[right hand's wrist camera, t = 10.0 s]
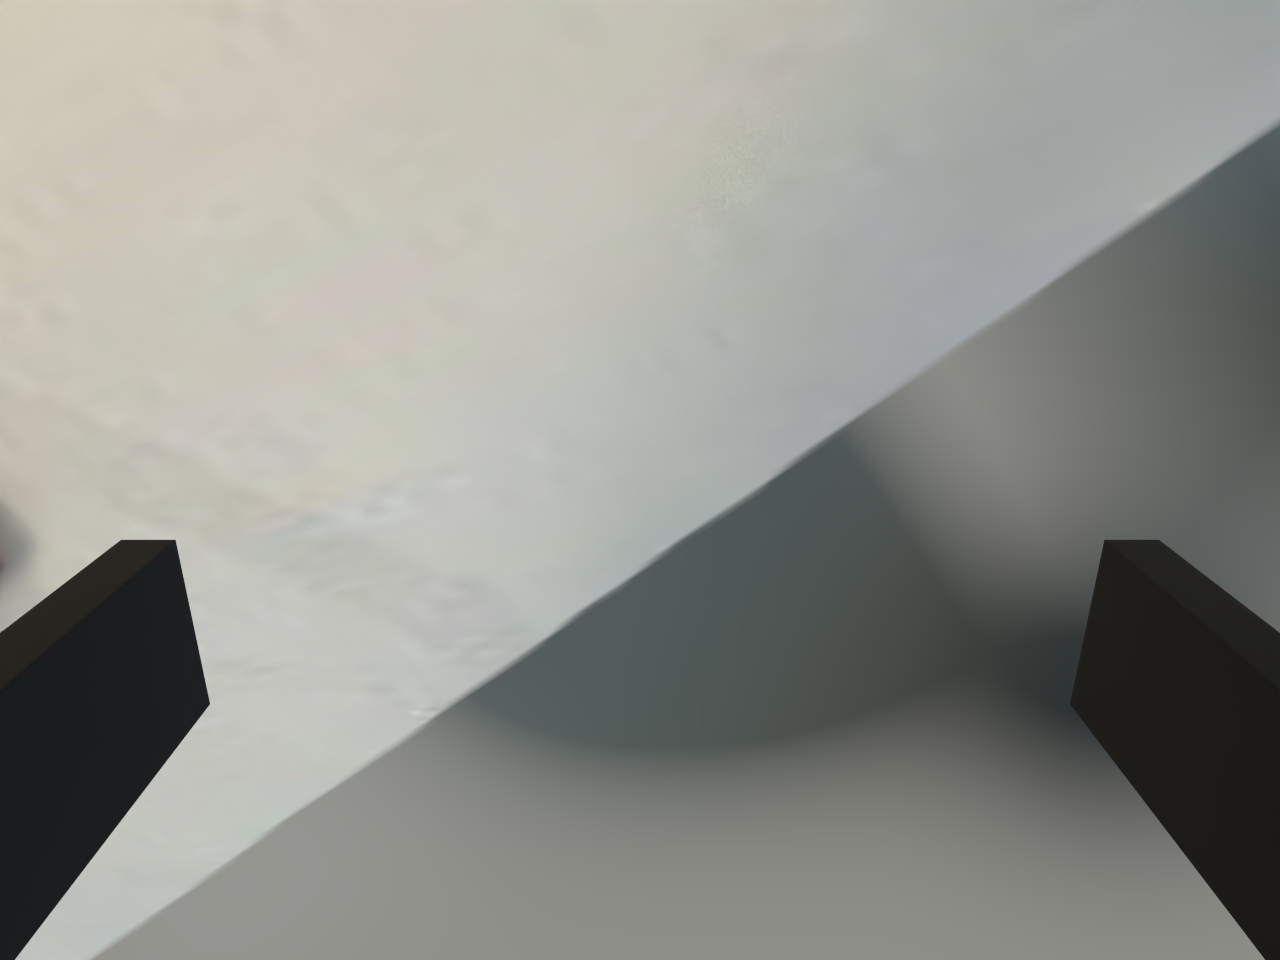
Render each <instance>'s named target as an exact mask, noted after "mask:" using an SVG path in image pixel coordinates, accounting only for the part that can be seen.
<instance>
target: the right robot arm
mask: <svg viewBox="0 0 1280 960" xmlns="http://www.w3.org/2000/svg"><path fill="white" fill-rule="evenodd" d="M1070 704H1071V706H1072V707H1073V708H1074V710H1075V711H1076V712H1077V714H1078V715H1079V716H1080V718H1081V719H1082V720H1083V722H1084V723H1085V724H1086V725H1087V727H1088V728H1089V729H1090V731H1091V732H1092V733H1093V735H1094V736H1095V737H1096V739H1097V740H1098V741H1099V743H1100V744H1101V745H1102V746H1103V748H1104V749H1105V750H1106V752H1107V753H1108V754H1109V756H1110V757H1111V758H1112V760H1113V761H1114V762H1115V763H1116V765H1117V766H1118V767H1119V769H1120V770H1121V771H1122V773H1123V774H1124V775H1125V777H1126V778H1127V779H1128V781H1129V782H1130V783H1131V784H1132V786H1133V787H1134V788H1135V790H1136V791H1137V792H1138V794H1139V795H1140V796H1141V798H1142V799H1143V800H1144V801H1145V803H1146V804H1147V805H1148V807H1149V808H1150V809H1151V811H1152V812H1153V813H1154V814H1155V816H1156V817H1157V818H1158V820H1159V821H1160V822H1161V824H1162V825H1163V826H1164V828H1165V829H1166V830H1167V832H1168V833H1169V834H1170V836H1171V837H1172V838H1173V839H1174V841H1175V842H1176V843H1177V845H1178V846H1179V847H1180V849H1181V850H1182V851H1183V852H1184V854H1185V855H1186V856H1187V858H1188V859H1189V860H1190V862H1191V863H1192V864H1193V866H1194V867H1195V868H1196V870H1197V871H1198V872H1199V873H1200V875H1201V876H1202V877H1203V879H1204V880H1205V881H1206V883H1207V884H1208V885H1209V887H1210V888H1211V889H1212V890H1213V892H1214V893H1215V894H1216V896H1217V897H1218V898H1219V900H1220V901H1221V902H1222V904H1223V905H1224V906H1225V908H1226V909H1227V910H1228V911H1229V913H1230V914H1231V915H1232V917H1233V918H1234V919H1235V921H1236V922H1237V923H1238V925H1239V926H1240V927H1241V928H1242V930H1243V931H1244V932H1245V934H1246V935H1247V936H1248V938H1249V939H1250V940H1251V942H1252V943H1253V944H1254V945H1255V947H1256V948H1257V949H1258V951H1259V952H1260V953H1261V955H1262V956H1263V957H1264V959H1265V960H1280V633H1279V632H1278V631H1276V630H1275V629H1274V628H1273V627H1271V626H1270V625H1269V624H1267V623H1266V622H1265V621H1263V620H1262V619H1261V618H1260V617H1258V616H1257V615H1256V614H1254V613H1253V612H1252V611H1250V610H1249V609H1248V608H1247V607H1245V606H1244V605H1243V604H1241V603H1240V602H1239V601H1237V600H1236V599H1235V598H1234V597H1232V596H1231V595H1230V594H1228V593H1227V592H1226V591H1224V590H1223V589H1222V588H1221V587H1219V586H1218V585H1217V584H1215V583H1214V582H1213V581H1211V580H1210V579H1209V578H1208V577H1206V576H1205V575H1204V574H1202V573H1201V572H1200V571H1199V570H1197V569H1196V568H1194V567H1193V566H1192V565H1191V564H1189V563H1188V562H1187V561H1185V560H1184V559H1183V558H1182V557H1180V556H1179V555H1178V554H1176V553H1175V552H1174V551H1173V550H1171V549H1170V548H1169V547H1167V546H1166V545H1165V544H1163V543H1162V542H1161V541H1160V540H1104V545H1103V550H1102V555H1101V559H1100V564H1099V569H1098V574H1097V578H1096V583H1095V588H1094V593H1093V598H1092V602H1091V607H1090V612H1089V616H1088V621H1087V626H1086V631H1085V635H1084V640H1083V645H1082V650H1081V655H1080V659H1079V664H1078V669H1077V674H1076V678H1075V683H1074V688H1073V693H1072V697H1071V702H1070ZM209 705H210V702H209V697H208V693H207V688H206V683H205V678H204V674H203V669H202V664H201V659H200V654H199V650H198V645H197V640H196V635H195V631H194V626H193V621H192V616H191V612H190V607H189V602H188V597H187V593H186V588H185V583H184V578H183V574H182V569H181V564H180V559H179V555H178V550H177V545H176V540H120V541H119V542H118V543H117V544H115V545H114V546H113V547H111V548H110V549H109V550H107V551H106V552H105V553H104V554H102V555H101V556H100V557H98V558H97V559H96V560H94V561H93V562H92V563H91V564H89V565H88V566H87V567H85V568H84V569H83V570H81V571H80V572H79V573H78V574H76V575H75V576H74V577H72V578H71V579H70V580H68V581H67V582H66V583H65V584H63V585H62V586H61V587H59V588H58V589H57V590H55V591H54V592H53V593H52V594H50V595H49V596H48V597H46V598H45V599H44V600H42V601H41V602H40V603H39V604H37V605H36V606H35V607H33V608H32V609H31V610H30V611H28V612H27V613H26V614H24V615H23V616H22V617H20V618H19V619H18V620H17V621H15V622H14V623H13V624H11V625H10V626H9V627H7V628H6V629H5V630H4V631H2V632H1V633H0V960H15V959H16V957H17V956H18V955H19V953H20V952H21V951H22V949H23V948H24V947H25V946H26V944H27V943H28V942H29V940H30V939H31V938H32V936H33V935H34V934H35V932H36V931H37V930H38V928H39V927H40V926H41V925H42V923H43V922H44V921H45V919H46V918H47V917H48V915H49V914H50V913H51V911H52V910H53V909H54V908H55V906H56V905H57V904H58V902H59V901H60V900H61V898H62V897H63V896H64V894H65V893H66V892H67V891H68V889H69V888H70V887H71V885H72V884H73V883H74V881H75V880H76V879H77V877H78V876H79V875H80V873H81V872H82V871H83V870H84V868H85V867H86V866H87V864H88V863H89V862H90V860H91V859H92V858H93V856H94V855H95V854H96V853H97V851H98V850H99V849H100V847H101V846H102V845H103V843H104V842H105V841H106V839H107V838H108V837H109V836H110V834H111V833H112V832H113V830H114V829H115V828H116V826H117V825H118V824H119V822H120V821H121V820H122V818H123V817H124V816H125V815H126V813H127V812H128V811H129V809H130V808H131V807H132V805H133V804H134V803H135V801H136V800H137V799H138V798H139V796H140V795H141V794H142V792H143V791H144V790H145V788H146V787H147V786H148V784H149V783H150V782H151V781H152V779H153V778H154V777H155V775H156V774H157V773H158V771H159V770H160V769H161V767H162V766H163V765H164V763H165V762H166V761H167V760H168V758H169V757H170V756H171V754H172V753H173V752H174V750H175V749H176V748H177V746H178V745H179V744H180V743H181V741H182V740H183V739H184V737H185V736H186V735H187V733H188V732H189V731H190V729H191V728H192V727H193V726H194V724H195V723H196V722H197V720H198V719H199V718H200V716H201V715H202V714H203V712H204V711H205V710H206V708H207V707H208V706H209Z"/></svg>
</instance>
